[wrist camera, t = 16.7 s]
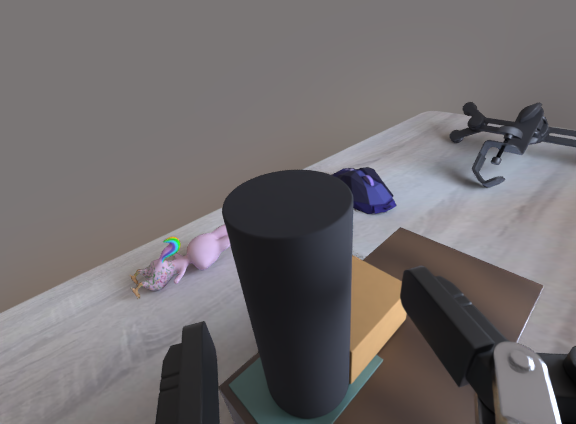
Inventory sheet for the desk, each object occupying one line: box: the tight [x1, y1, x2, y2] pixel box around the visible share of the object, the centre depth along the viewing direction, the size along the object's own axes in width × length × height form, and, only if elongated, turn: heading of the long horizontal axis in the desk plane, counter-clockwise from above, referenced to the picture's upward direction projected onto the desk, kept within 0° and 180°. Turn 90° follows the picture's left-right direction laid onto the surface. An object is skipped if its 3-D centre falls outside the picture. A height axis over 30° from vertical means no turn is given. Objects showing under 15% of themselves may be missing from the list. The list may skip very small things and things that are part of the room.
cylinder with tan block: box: [222, 170, 407, 419], centre depth 17 cm, size 10×5×13 cm, turn 133°
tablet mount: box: [450, 102, 576, 187], centre depth 48 cm, size 27×14×17 cm
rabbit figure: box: [129, 224, 231, 299], centre depth 36 cm, size 6×6×15 cm
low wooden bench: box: [219, 227, 544, 424], centre depth 23 cm, size 22×12×6 cm, turn 133°
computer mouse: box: [332, 167, 396, 214], centre depth 48 cm, size 9×15×4 cm, turn 24°
